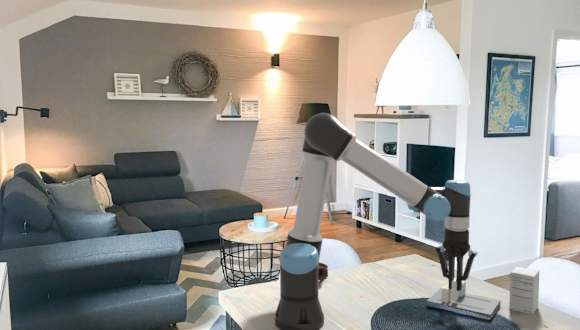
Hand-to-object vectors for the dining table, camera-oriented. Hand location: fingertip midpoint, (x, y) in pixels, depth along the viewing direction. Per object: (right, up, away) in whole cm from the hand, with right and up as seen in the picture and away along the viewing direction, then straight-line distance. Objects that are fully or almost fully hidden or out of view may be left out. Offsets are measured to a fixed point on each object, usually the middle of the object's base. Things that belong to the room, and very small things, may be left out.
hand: (454, 299), depth 157 cm
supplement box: (+23, -3, +1) cm, 23 cm away
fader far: (+4, 0, +7) cm, 8 cm away
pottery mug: (-43, -1, +29) cm, 52 cm away
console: (+4, -3, +3) cm, 6 cm away
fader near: (-2, -1, +2) cm, 3 cm away
